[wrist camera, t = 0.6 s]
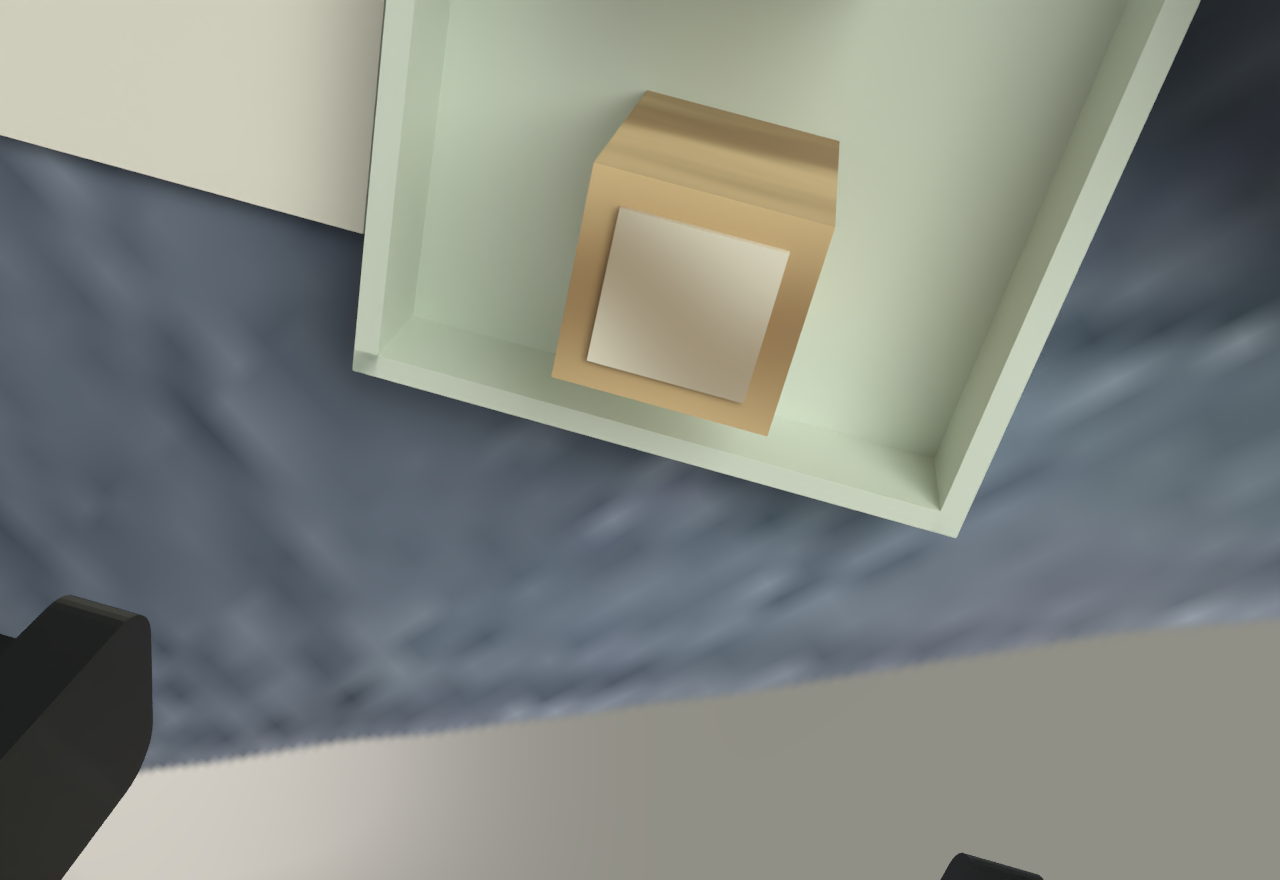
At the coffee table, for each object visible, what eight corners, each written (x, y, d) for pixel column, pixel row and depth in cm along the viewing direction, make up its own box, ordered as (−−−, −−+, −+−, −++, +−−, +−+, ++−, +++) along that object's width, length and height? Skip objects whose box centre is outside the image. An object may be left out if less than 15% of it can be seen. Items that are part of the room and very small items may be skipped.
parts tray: (508, -687, 20) (455, -761, 17) (1361, -481, 19) (1440, -526, 16) (395, 321, 30) (352, 370, 27) (947, 473, 29) (956, 538, 27)
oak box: (647, 90, 25) (592, 164, 20) (839, 141, 25) (834, 229, 20) (608, 270, 28) (549, 380, 22) (784, 318, 27) (766, 440, 22)
